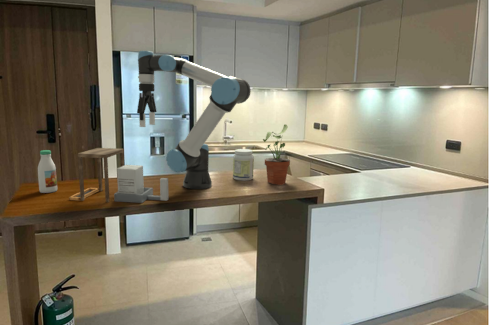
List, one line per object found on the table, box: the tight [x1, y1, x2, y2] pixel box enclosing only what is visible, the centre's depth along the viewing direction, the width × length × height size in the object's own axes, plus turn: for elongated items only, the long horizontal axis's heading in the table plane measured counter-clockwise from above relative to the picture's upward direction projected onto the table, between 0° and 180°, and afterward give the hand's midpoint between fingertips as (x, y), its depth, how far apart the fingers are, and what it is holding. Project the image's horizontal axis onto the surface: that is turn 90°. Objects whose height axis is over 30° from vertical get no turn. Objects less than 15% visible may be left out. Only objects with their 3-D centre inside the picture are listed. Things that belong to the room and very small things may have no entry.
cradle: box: [113, 177, 169, 204], centre depth 164 cm, size 22×13×10 cm, turn 84°
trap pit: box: [68, 187, 100, 202], centre depth 168 cm, size 5×17×1 cm, turn 174°
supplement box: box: [116, 164, 145, 195], centre depth 163 cm, size 9×9×15 cm
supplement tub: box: [232, 148, 255, 182], centre depth 208 cm, size 12×12×17 cm
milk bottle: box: [37, 149, 58, 194], centre depth 171 cm, size 8×8×20 cm
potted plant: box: [262, 124, 291, 186], centre depth 198 cm, size 16×15×35 cm
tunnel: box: [77, 147, 125, 203], centre depth 165 cm, size 13×18×22 cm
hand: (147, 125), depth 181 cm, fingers open, 13 cm apart
